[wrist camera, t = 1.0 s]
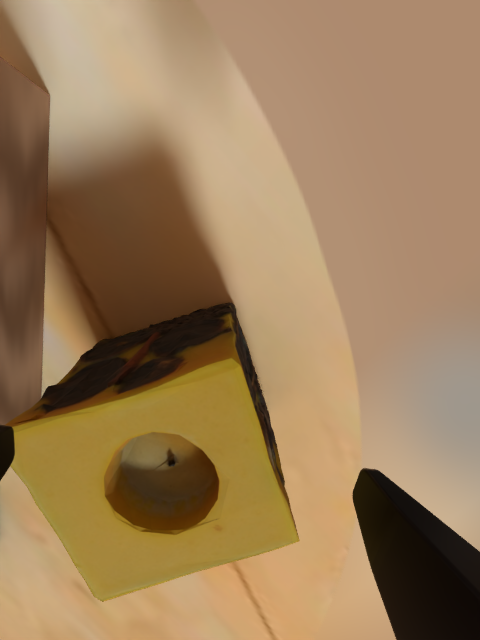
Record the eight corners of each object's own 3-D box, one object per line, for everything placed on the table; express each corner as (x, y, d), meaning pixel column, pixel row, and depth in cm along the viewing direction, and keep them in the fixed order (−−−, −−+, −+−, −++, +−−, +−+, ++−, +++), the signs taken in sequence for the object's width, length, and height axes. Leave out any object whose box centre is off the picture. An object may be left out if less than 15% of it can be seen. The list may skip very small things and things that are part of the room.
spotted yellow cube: (150, 453, 23) (95, 609, 13) (94, 340, 20) (-26, 436, 11) (272, 417, 23) (305, 552, 13) (232, 297, 20) (238, 356, 10)
